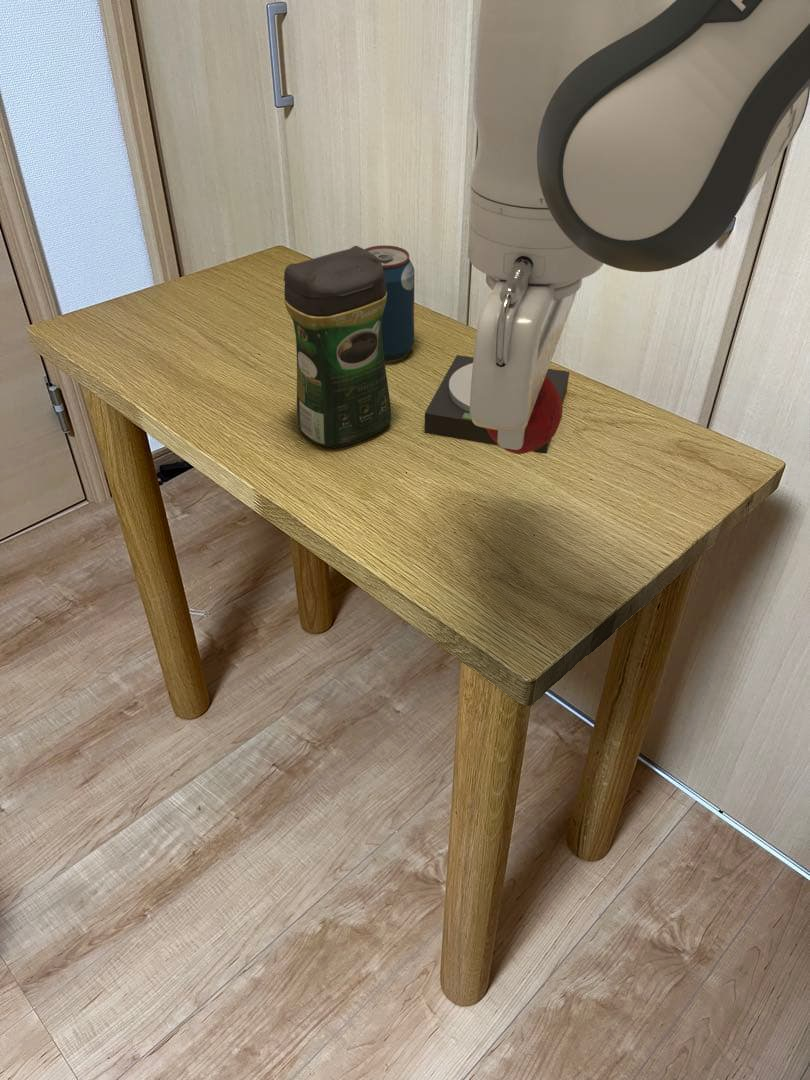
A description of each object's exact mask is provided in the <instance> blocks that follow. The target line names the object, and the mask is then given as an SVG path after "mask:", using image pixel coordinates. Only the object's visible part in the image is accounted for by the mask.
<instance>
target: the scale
mask: <svg viewBox="0 0 810 1080" xmlns="http://www.w3.org/2000/svg"><path fill="white" fill-rule="evenodd" d="M473 358H474V356H466V355H461V354H456V356H455V357H454V359H453V361H452V363H451V364H450V366H449V368H448V370H447V372H446V373H445V375H444V378H443V379H442V381H441V383H440V384H439V386H438V388H437V390H436V391H435V394H434V396H433V397H432V399H431V401H430V403H429V405H428V407H427V408H426V410H425V412H424V433H426V434H427V433H428V434H431V435H432V434H433V435H439V436H443V437H450V438H456V439H463V440H467V441H474V442H479V443H486V444H492V445H497V446H499V445H498V444H497V443H496V442H495V441H493V439H492V438H491V436H490V435H489V433H488V431H487V429H486V428H483V427H479V426H476V425H475V424H474V423H473V422H472V419H471V416H470V394H471V381H472V370H473ZM546 376H547V377H548V378H549V379H550V380H551V381H552V382H553V383H554V385H555V386H556V388H557V390H558V392H559V395H560V399H561V402H562V405H563V403H564V400H565V399H566V398H565V397H566V395H567V391H568V386H569V377H570V371H566V370H561V369H553V368H548V371H547V373H546ZM551 441H552V438H551V439H550V440H549V441H548V442H547V443H546V444H544V445H543V446H542V447H540V448H538V449H537V450H534V451H533V452H537V453H542V454H547V453H548V449H549V446H550V444H551Z"/></svg>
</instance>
